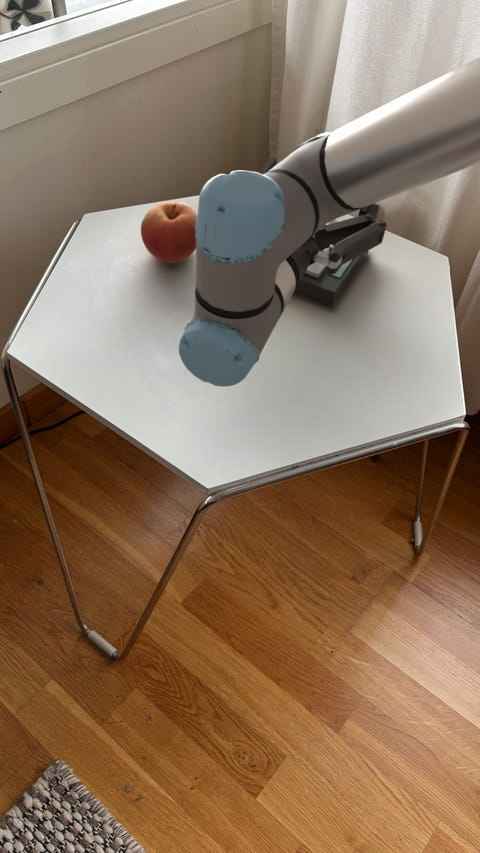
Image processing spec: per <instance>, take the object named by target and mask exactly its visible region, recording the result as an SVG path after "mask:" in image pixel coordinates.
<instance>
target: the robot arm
mask: <svg viewBox="0 0 480 853" xmlns="http://www.w3.org/2000/svg"><path fill="white" fill-rule="evenodd" d="M277 160H278V157H276V156H270V157H269V159H268V160H267V161H266V163H265V165H264V166H262V168H261V170H260V171H258V172H257V171H251V170H243V169H242V170H240V169H238V170H232V171H230V173H229V174H225V173H219V174H217V175H215V176H213V177H211V178H210V179H209V180H208V181H206V182H205V184H204V185H203V187H202V188H201V190H200V193H199V196H198V207H197V215H198V217H197V220H196V228H195V236H196V250H195V290H194V313H193V317H192V319H191V320H190V321H189V322H187V324H186V325H185V327H184V330H183V333H182V335H181V337H180V339H179V342H178V353H179V357H180V359H181V362H182V364H183V365H184V367H185V368H186V369H187V371H189V372H190V374H192V375H193V376H194V377H195V378H197V379H198V380H200V381H201V382H204V383H208V384H210V385H213V386H216V387H231V386H236V385H238V384H240V383H241V382H242V381H244V380H245V378H246V377H247V376H248V374H249V373H250V372H251V370H252V368H253V367H254V366H255V365H256V364H257V363H258V362H259V360H260V355H261V353H262V351H263V350H264V348H265V346H266V344H267V342H268V340H269V338H270V337H271V334H272V333H273V331H274V330H275V327H276V326H277V324H278V322H279V320H280V318H281V316H282V315H283V312H284V311H285V309H286V307H287V305H288V304H289V302H290V301H291V298H292V297H293V294H295V293H294V291H295V290H296V288H297V286H298V284H299V283H300V281H301V279H302V277H303V275H304V274H305V272H306V270H307V268H308V266H310V265H311V264H314V263H315V262H317V263H320V264H323V265H325V266H327V270H326V271H327V272H328V273H329V274H335V273H337V271H338V270H339V269H340V267H341V266H342V265H343V264H345V263H347V262H349V261H350V260H352V259H354V258H356V257H358V256H359V255H361V254H363V253H365V252H367V251H368V250H369V251H370V250H372V249H373V248H375V247H377V246H379V245H381V244H382V243H383V241H384V237H385V234H386V230H387V222H386V221H383V220H378V221H377V219H378V215H379V211H380V205H379V204H376V203H379V202H381V201H384V200H386V199H389V198H392V197H395V196H398V195H400V194H402V193H405V192H408V191H410V190H413V189H416V188H418V187H421V186H424V185H426V184H428V183H432V182H433V181H434V182H435V181H436V180H439V179H442V178H444V177H447V176H450V175H452V174H454V173H458V172H460V171H463V170H465V169H468V168H471V167H473V166H475V165H479V164H480V56H479V57H477V58H474V59H473V60H471V61H469V62H467V63H465V64H463V65H461V66H459V67H457V68H455V69H454V70H451V71H450V72H447V73H445V74H443V75H442V76H439V77H438V78H436V79H434V80H432V81H430V82H428V83H426V84H424V85H422V86H419V87H418V88H416V89H414V90H412V91H410V92H408V93H406V94H404V95H401V96H400V97H398V98H397V99H395V100H392V101H391V102H389V103H387V104H385V105H382V106H381V107H379V108H377V109H375V110H372V111H371V112H368V113H366V114H365V115H363V116H360V117H359V118H357V119H355V120H353V121H350V122H349V123H347V124H345V125H343V126H342V127H340V128H337V129H336V130H334V131H329V132H323V133H320V134H318V135H316V136H314V137H312V138H310V139H308V140H306V141H305V142H302V143H301V144H299V145H298V146H297V147H296V148H294V150H293V151H292V152H291V153H290V154H289V155H287V156H286V157H285V158H283V159H282V160H281V161H279V162H278V163H277ZM357 211H358V215H357V216H354V217H350V218H346V219H343V220H339V221H338V222H335V223H332V224H329V222H330V221H332V220H334V219H336V220H337V219H339V218H342V217H345V216H346V215H347V216H348V215H349V214H352V213H355V212H357ZM313 236H314V237H313ZM326 248H329V249H327V250H326V251H323V250H324V249H326ZM369 251H368V252H369Z"/></svg>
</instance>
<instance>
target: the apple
mask: <svg viewBox="0 0 480 853" xmlns="http://www.w3.org/2000/svg"><path fill="white" fill-rule="evenodd" d="M197 217H198V212H196V210H195V209H194V208H193V207H192V206H190V205H189V204H187V203H184V202H181V201H167V202H161V203H159V204H157V205H155V206H153V207H152V208H150V209H149V210H148V211H147V212H146V213H145V215H144V217H143V219H142V221H141V222H140V223H141V224H140V237H141V240H142V242H143V245H144V246H145V249H146V250H147V251H148V253H150V255H152V256H153V257H155V258H156V259H157V260H159V261H162V262H167V263H171V264H175V263H176V264H177V263H180V262H183V261H184V260H187V258H189V257H191V256H192V255H193V253H194V252H196V236H195V228H196V220H197Z"/></svg>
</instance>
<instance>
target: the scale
mask: <svg viewBox="0 0 480 853" xmlns="http://www.w3.org/2000/svg"><path fill="white" fill-rule="evenodd" d="M327 249H329V248H326V249H324V250H323V251H326V250H327ZM369 251H370V250H368V251H367V252H365V253H363V254H361V255H359V256H358V257H356V258H354V259H352V260H350V261H349V262H347V263H345V264H343V265H342V266H341V267H340V269H339V270H338V271H337V273H335V274H329V273H328V272H327V271H326V270H327V266H325V265H323V264H320V263H317V262H315V263H314V264H311V265H310V266H308V268H307V270H306V272H305V274H304V275H303V277H302V279H301V281H300V283H299V284H298V286H297V288H296V290H295V291H294V293H293V294H295V295H297V296H301V297H303V298H306V299H309V300H311V301H313V302H316V303H319V304H321V305H324V306H326V307H329V308H333V306H334V305H335V304H336V302H337V301H338V299H339V298H340V296H341V295H342V293H343V292H344V290H345V289H346V288H347V286H348V285H349V283H350V282H351V280H352V279H353V277H354V276H355V274H356V273H357V272H358V270H359V269H360V268H361V266H362V264H363V263H364V261H365V260H366V258H367V257H368V255H369Z"/></svg>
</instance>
